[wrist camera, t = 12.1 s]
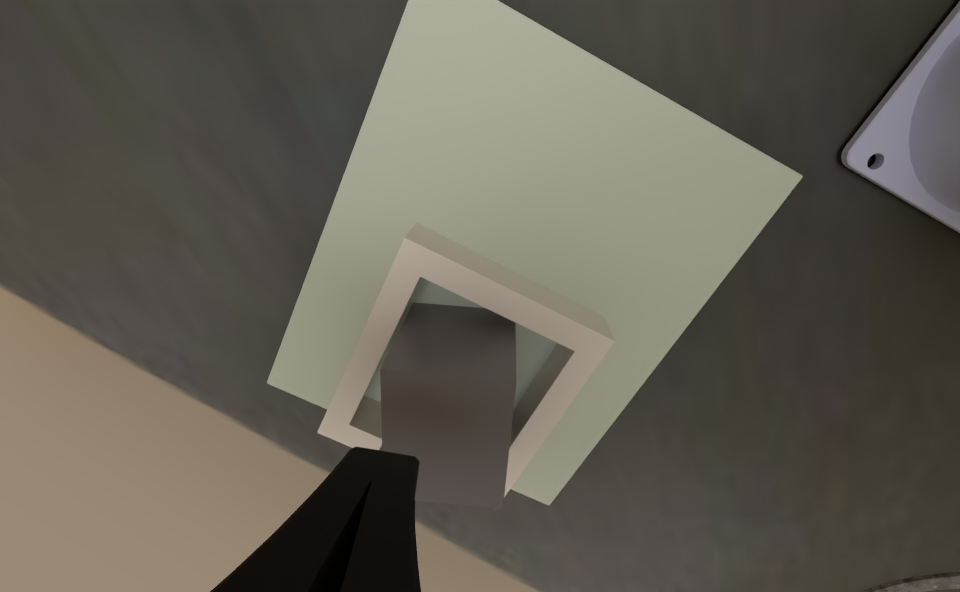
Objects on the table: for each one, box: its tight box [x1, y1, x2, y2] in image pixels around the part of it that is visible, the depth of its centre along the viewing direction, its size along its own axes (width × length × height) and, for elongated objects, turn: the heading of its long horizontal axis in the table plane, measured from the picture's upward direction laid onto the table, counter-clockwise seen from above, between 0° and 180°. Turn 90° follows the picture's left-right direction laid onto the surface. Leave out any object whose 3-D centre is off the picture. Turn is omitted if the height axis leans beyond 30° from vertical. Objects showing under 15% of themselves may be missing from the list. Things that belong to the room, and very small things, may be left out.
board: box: [267, 0, 803, 506], centre depth 18 cm, size 14×17×1 cm
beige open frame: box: [317, 223, 615, 497], centre depth 18 cm, size 8×9×2 cm
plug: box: [380, 302, 516, 509], centre depth 17 cm, size 4×6×5 cm, turn 176°
